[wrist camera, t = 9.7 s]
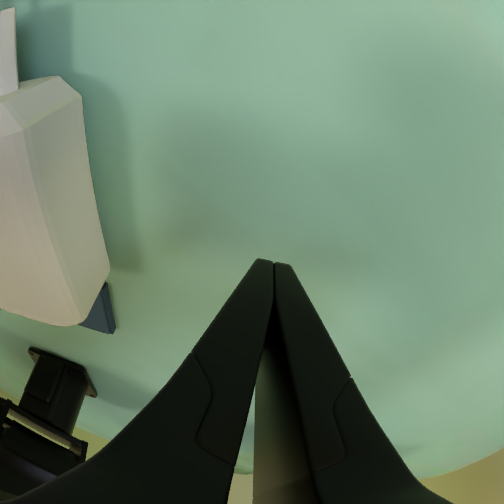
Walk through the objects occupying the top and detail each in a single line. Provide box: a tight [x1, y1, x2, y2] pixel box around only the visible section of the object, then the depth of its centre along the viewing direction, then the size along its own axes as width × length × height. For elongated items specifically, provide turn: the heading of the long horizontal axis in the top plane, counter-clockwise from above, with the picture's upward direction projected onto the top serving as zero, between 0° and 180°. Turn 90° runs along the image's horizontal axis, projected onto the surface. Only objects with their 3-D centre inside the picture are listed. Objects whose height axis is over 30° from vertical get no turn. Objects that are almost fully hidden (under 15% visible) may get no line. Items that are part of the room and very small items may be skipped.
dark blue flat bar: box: [77, 282, 116, 334], centre depth 18 cm, size 4×15×1 cm, turn 78°
